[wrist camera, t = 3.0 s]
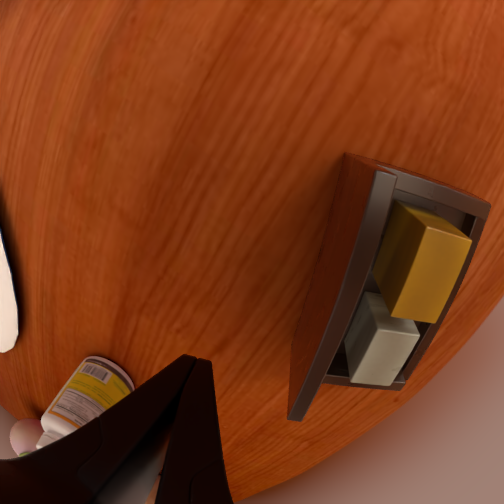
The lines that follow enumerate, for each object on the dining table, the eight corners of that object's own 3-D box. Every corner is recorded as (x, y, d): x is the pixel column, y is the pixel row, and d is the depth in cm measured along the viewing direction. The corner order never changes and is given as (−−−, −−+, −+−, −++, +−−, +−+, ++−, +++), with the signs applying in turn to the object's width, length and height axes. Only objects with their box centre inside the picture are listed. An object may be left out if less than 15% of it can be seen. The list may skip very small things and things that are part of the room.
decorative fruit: (25, 394, 31) (-8, 438, 22) (68, 426, 31) (38, 476, 22) (32, 418, 35) (5, 456, 25) (70, 445, 35) (46, 487, 26)
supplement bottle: (111, 398, 25) (67, 477, 16) (75, 357, 23) (17, 435, 14) (149, 393, 23) (103, 488, 14) (109, 347, 22) (43, 441, 12)
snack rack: (473, 194, 13) (538, 231, 8) (400, 360, 18) (421, 428, 13) (344, 151, 14) (375, 168, 8) (291, 344, 19) (286, 420, 13)
